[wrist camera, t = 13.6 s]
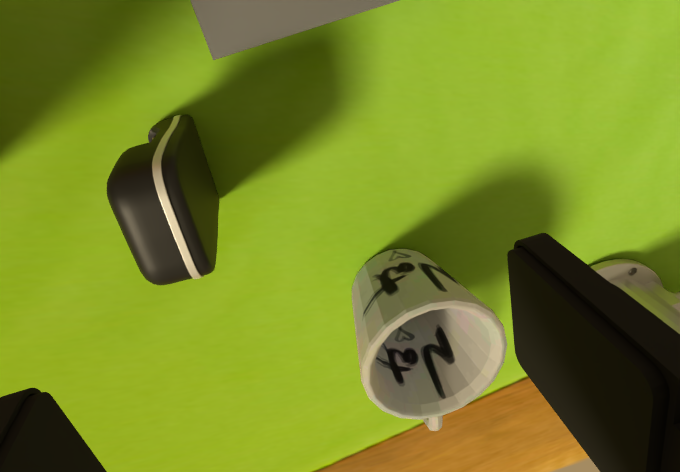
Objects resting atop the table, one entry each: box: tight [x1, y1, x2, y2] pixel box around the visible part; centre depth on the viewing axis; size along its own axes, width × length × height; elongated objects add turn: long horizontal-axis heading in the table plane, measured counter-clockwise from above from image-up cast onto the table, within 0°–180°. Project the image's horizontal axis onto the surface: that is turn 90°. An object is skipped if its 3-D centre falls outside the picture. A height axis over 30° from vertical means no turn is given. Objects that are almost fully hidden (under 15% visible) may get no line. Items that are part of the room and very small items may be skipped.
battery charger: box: [107, 115, 219, 285], centre depth 28 cm, size 7×4×11 cm, turn 10°
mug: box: [352, 249, 507, 431], centre depth 38 cm, size 10×15×10 cm
